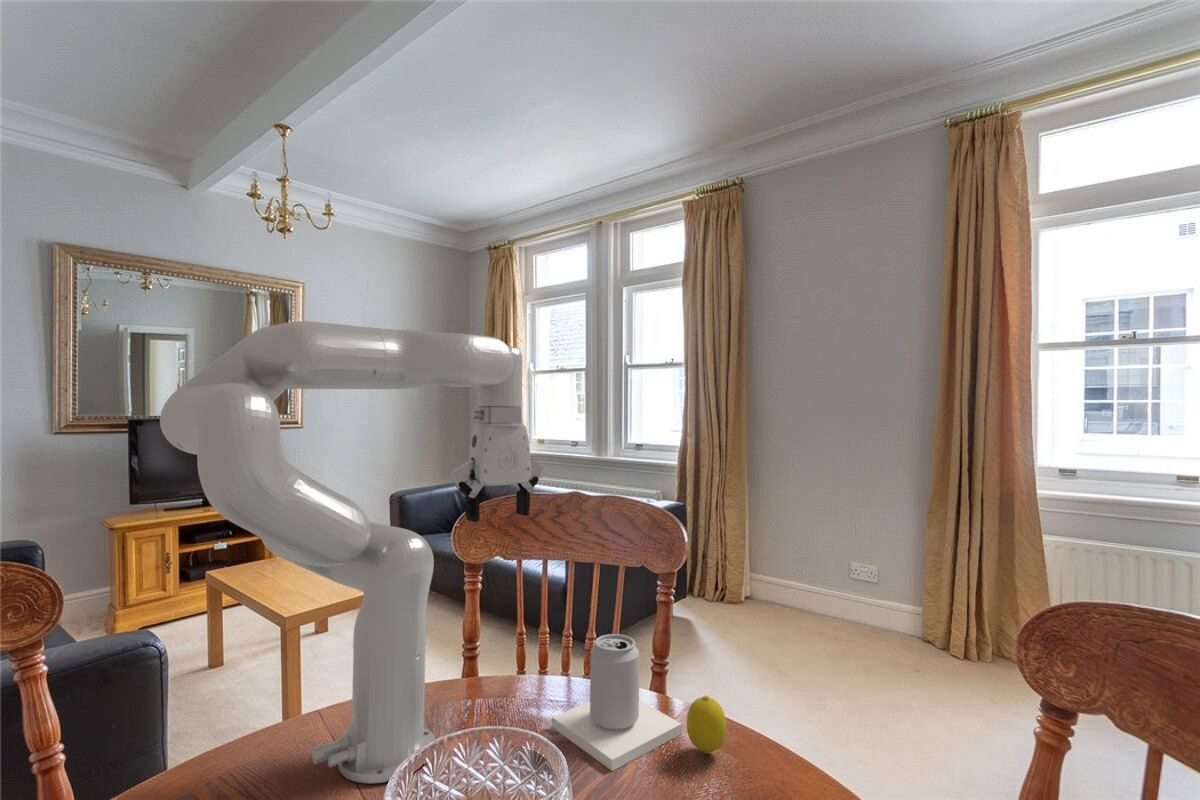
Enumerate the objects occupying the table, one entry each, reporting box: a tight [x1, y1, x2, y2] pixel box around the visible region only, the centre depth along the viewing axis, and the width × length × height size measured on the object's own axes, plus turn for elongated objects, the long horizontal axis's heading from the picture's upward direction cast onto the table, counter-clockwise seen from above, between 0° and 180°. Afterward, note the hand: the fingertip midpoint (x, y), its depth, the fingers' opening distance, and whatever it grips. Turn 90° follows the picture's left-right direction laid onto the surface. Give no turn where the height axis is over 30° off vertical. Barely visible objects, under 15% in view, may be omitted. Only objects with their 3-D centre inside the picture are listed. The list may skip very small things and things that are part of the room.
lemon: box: [686, 695, 727, 755], centre depth 80 cm, size 6×6×8 cm
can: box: [589, 633, 640, 731], centre depth 85 cm, size 8×8×12 cm
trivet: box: [551, 699, 683, 772], centre depth 85 cm, size 14×14×2 cm
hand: (498, 517), depth 96 cm, fingers open, 9 cm apart
